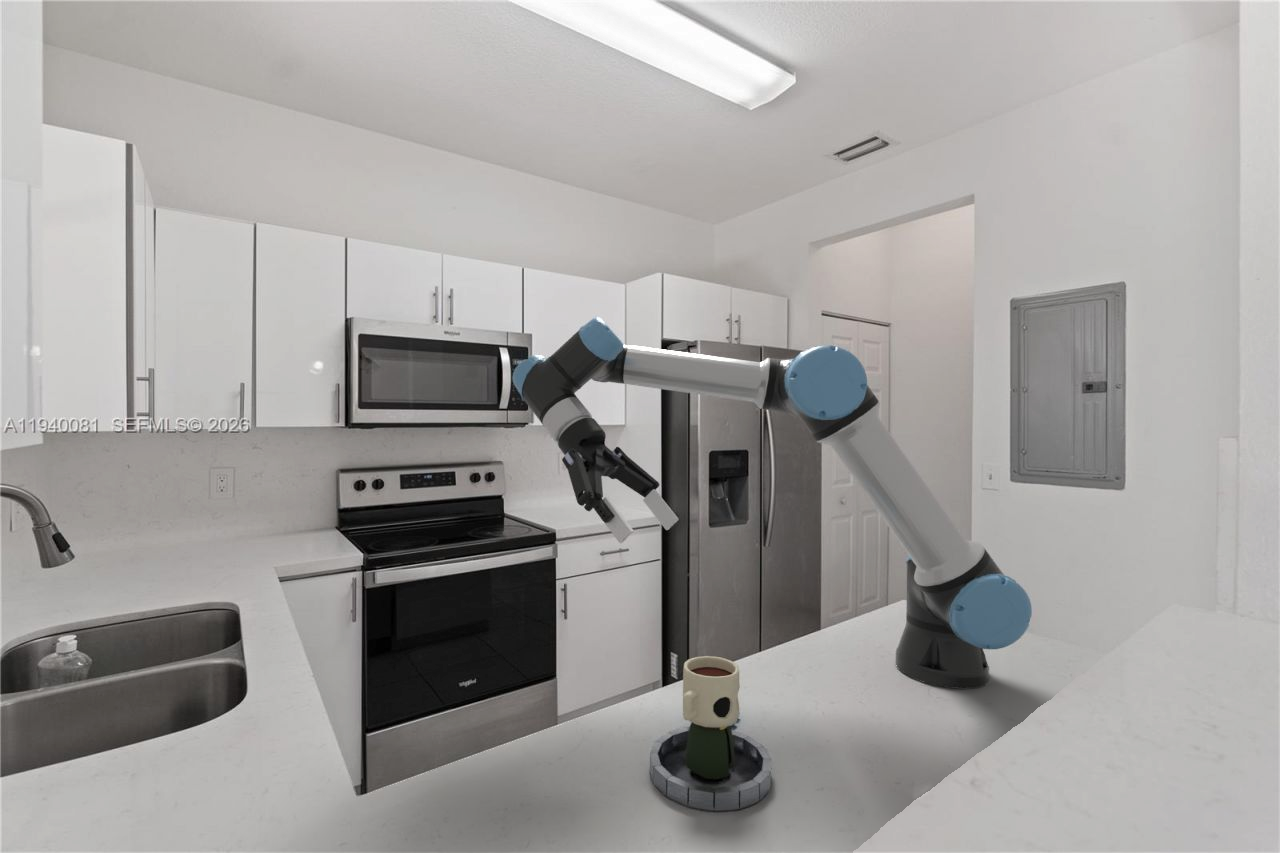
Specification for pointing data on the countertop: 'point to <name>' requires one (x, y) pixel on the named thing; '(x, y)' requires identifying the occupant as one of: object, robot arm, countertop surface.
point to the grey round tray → (710, 793)
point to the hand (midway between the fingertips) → (651, 530)
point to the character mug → (710, 714)
